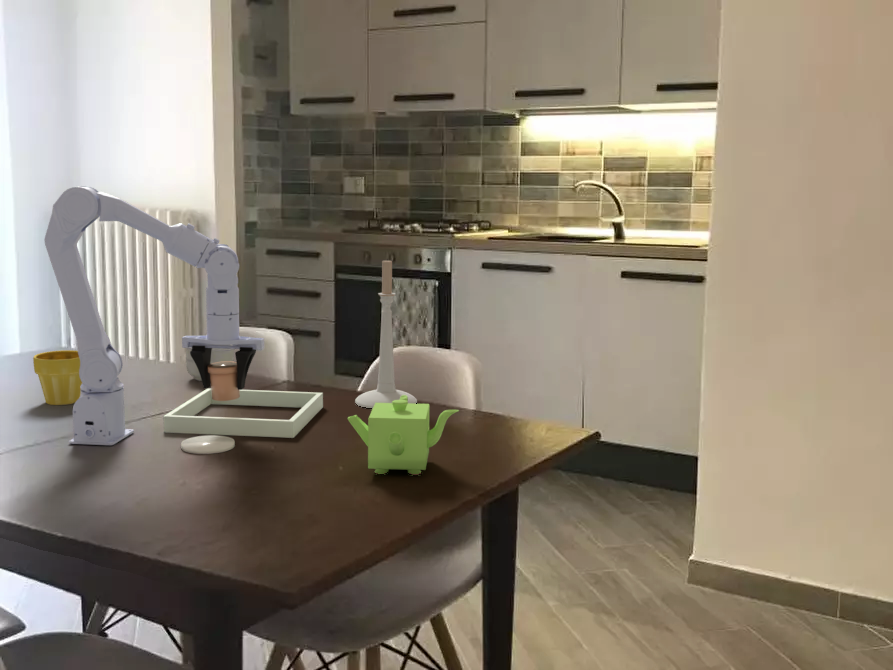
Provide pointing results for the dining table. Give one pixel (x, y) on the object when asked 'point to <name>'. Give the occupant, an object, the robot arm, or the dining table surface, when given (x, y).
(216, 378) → the terracotta pot
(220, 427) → the rectangular frame
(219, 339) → the robot arm
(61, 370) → the plant pot
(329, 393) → the dining table surface
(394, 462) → the kettle
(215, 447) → the saucer
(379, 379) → the candlestick
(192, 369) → the teacup
